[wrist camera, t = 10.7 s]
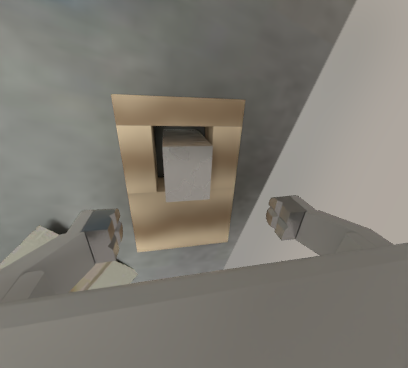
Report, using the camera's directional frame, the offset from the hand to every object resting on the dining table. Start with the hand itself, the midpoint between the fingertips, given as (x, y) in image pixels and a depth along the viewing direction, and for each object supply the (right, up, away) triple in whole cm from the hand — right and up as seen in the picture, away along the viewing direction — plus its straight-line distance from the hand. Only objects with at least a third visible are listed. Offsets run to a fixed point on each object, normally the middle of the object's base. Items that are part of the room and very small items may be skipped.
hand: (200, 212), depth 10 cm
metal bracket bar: (-3, +6, +13) cm, 14 cm away
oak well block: (-3, +3, +14) cm, 15 cm away
